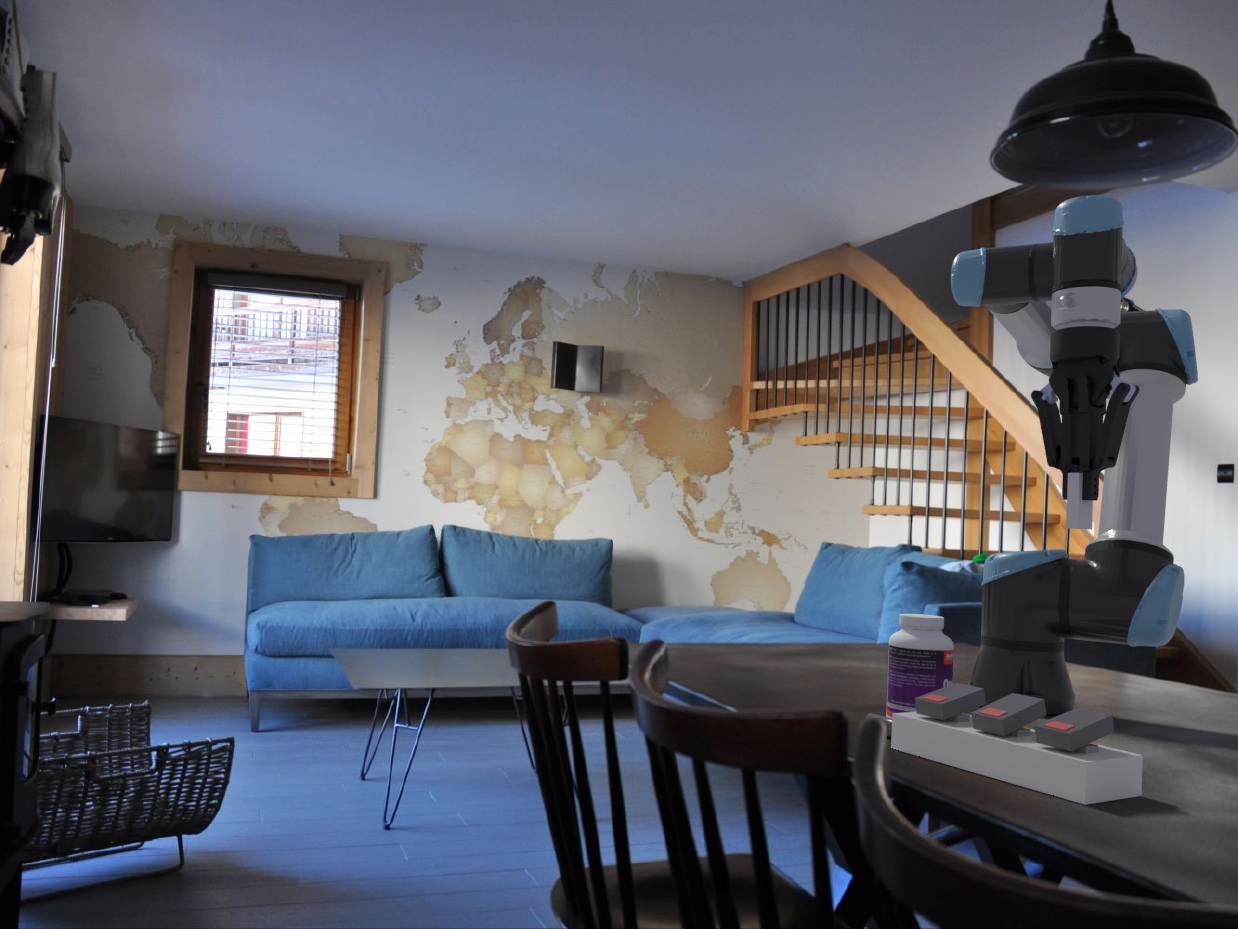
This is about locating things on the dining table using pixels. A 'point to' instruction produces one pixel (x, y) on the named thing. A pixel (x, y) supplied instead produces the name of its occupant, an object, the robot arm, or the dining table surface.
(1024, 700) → the rocker
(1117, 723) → the dining table surface
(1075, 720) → the rocker
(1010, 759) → the power strip
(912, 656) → the pill bottle
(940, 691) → the rocker
